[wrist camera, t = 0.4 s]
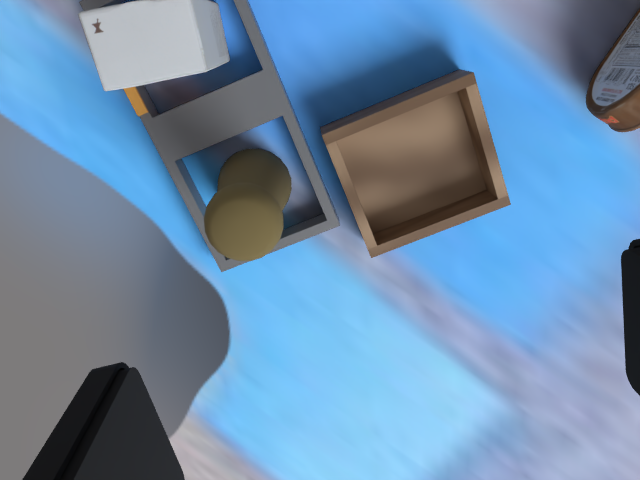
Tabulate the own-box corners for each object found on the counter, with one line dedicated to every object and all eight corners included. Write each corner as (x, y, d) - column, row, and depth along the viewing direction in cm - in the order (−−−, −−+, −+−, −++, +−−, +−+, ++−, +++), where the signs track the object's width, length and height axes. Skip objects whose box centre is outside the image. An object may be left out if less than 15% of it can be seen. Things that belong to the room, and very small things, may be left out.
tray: (320, 127, 42) (321, 135, 38) (459, 69, 41) (473, 72, 37) (365, 241, 45) (371, 257, 42) (495, 191, 44) (510, 204, 41)
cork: (214, 214, 44) (189, 269, 34) (221, 143, 42) (195, 178, 32) (286, 223, 45) (283, 280, 34) (296, 153, 42) (295, 191, 32)
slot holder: (89, 3, 38) (77, 1, 36) (223, -59, 37) (218, -65, 35) (224, 262, 46) (220, 273, 43) (338, 217, 45) (340, 226, 42)
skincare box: (155, 77, 40) (99, 93, 29) (138, 16, 38) (73, 9, 27) (234, 62, 40) (208, 73, 29) (220, 1, 38) (188, -13, 27)
